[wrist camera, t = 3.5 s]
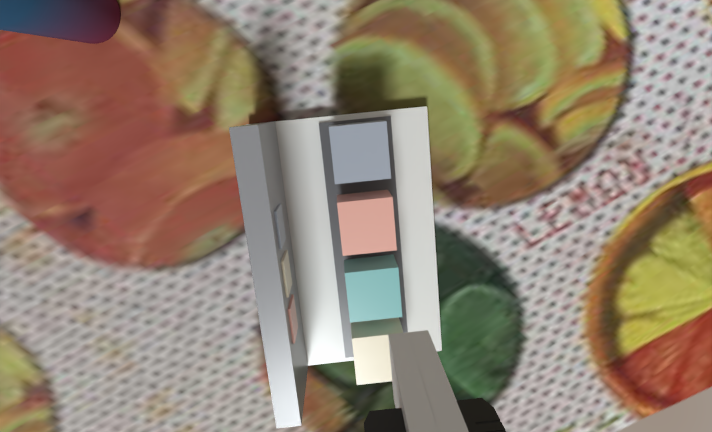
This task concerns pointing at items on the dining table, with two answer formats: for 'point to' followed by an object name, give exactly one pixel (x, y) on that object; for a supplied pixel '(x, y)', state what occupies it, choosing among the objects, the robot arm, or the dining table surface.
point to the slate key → (360, 151)
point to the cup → (62, 18)
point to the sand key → (373, 349)
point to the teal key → (373, 288)
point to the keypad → (327, 241)
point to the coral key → (366, 222)
